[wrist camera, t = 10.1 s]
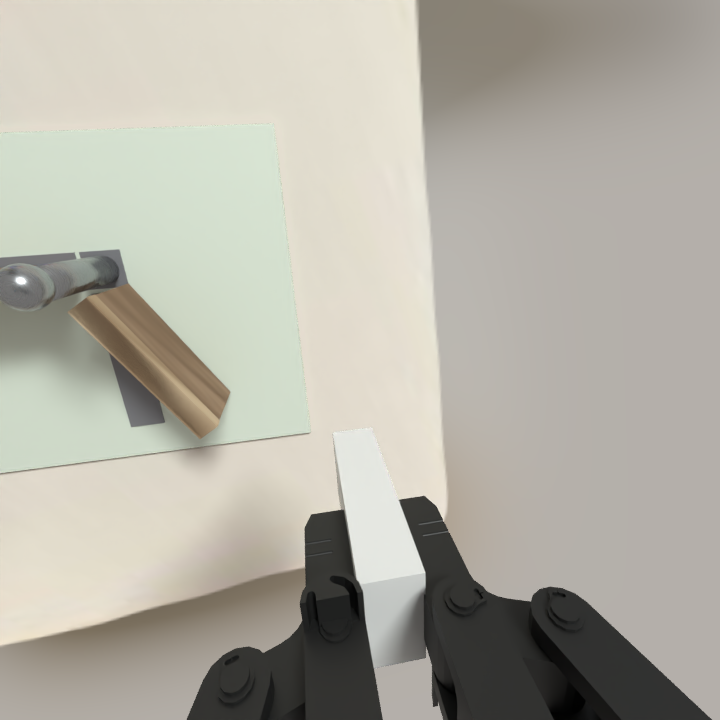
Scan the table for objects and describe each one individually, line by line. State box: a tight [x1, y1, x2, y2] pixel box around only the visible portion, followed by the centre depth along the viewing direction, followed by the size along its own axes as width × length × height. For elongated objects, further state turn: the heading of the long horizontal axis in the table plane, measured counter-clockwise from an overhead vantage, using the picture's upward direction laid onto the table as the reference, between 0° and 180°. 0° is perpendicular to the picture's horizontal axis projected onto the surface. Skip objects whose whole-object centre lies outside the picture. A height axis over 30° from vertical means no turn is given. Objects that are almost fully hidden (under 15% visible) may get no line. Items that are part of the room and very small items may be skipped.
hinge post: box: [0, 256, 119, 312], centre depth 21 cm, size 2×2×9 cm
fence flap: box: [67, 283, 231, 439], centre depth 25 cm, size 1×10×6 cm, turn 35°
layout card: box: [0, 123, 311, 473], centre depth 26 cm, size 22×28×1 cm
